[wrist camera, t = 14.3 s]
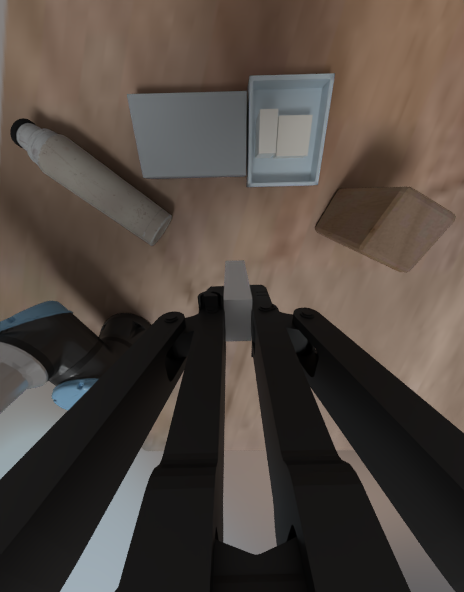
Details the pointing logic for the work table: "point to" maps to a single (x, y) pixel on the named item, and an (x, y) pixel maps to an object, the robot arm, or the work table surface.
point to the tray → (289, 101)
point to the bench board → (190, 134)
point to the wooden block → (385, 224)
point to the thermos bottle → (91, 180)
